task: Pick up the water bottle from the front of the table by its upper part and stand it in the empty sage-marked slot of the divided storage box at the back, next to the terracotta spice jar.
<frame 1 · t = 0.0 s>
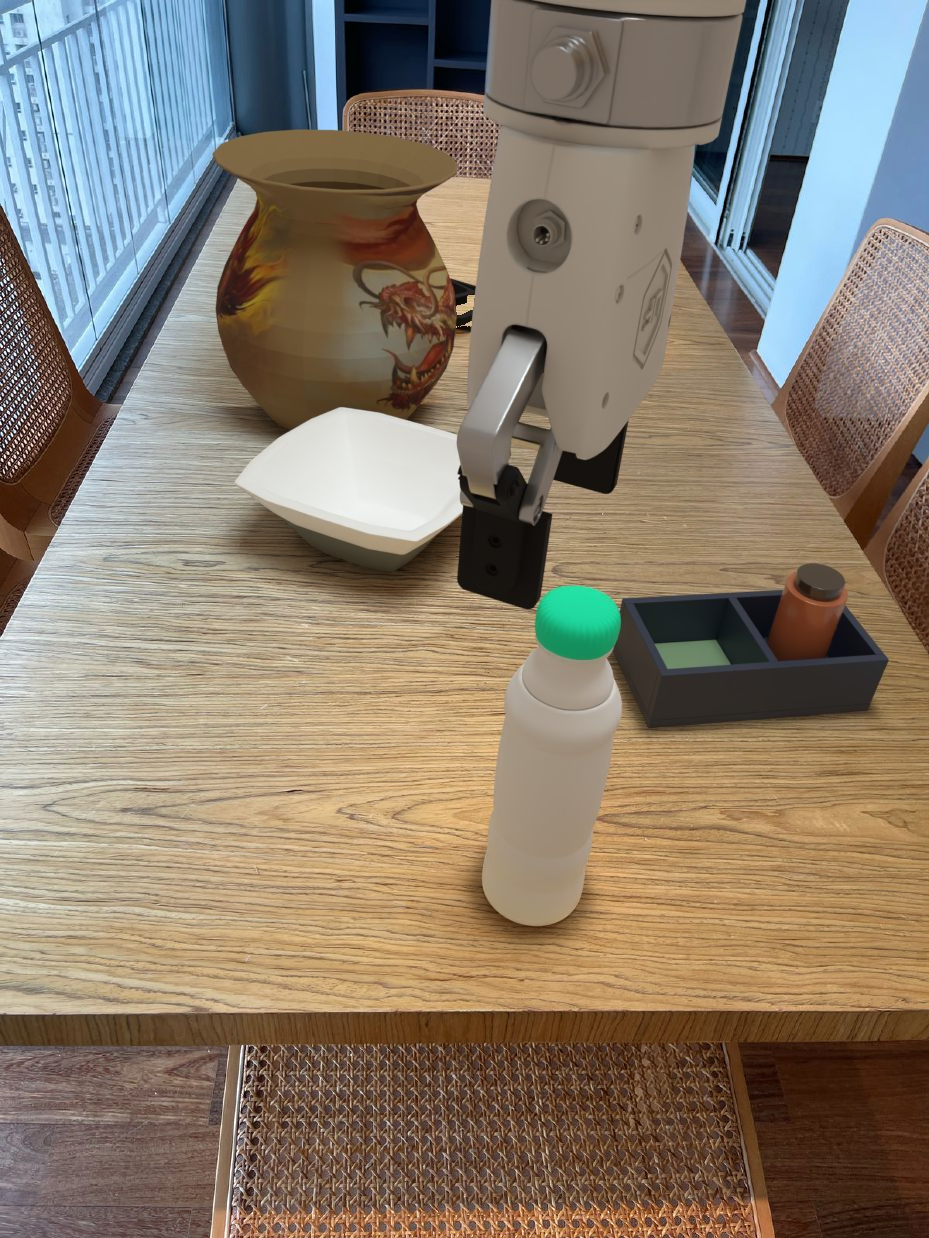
hand: (542, 535, 41), 35 cm above the table, tool pointing down, fingers open, 9 cm apart
water bottle: (530, 890, 71), on the table
divided storage box: (736, 680, 90), on the table
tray: (422, 316, 157), on the table
spice jar: (789, 668, 91), point 1 cm above the table, touching divided storage box
bowl: (373, 539, 105), on the table
vase: (338, 408, 129), on the table
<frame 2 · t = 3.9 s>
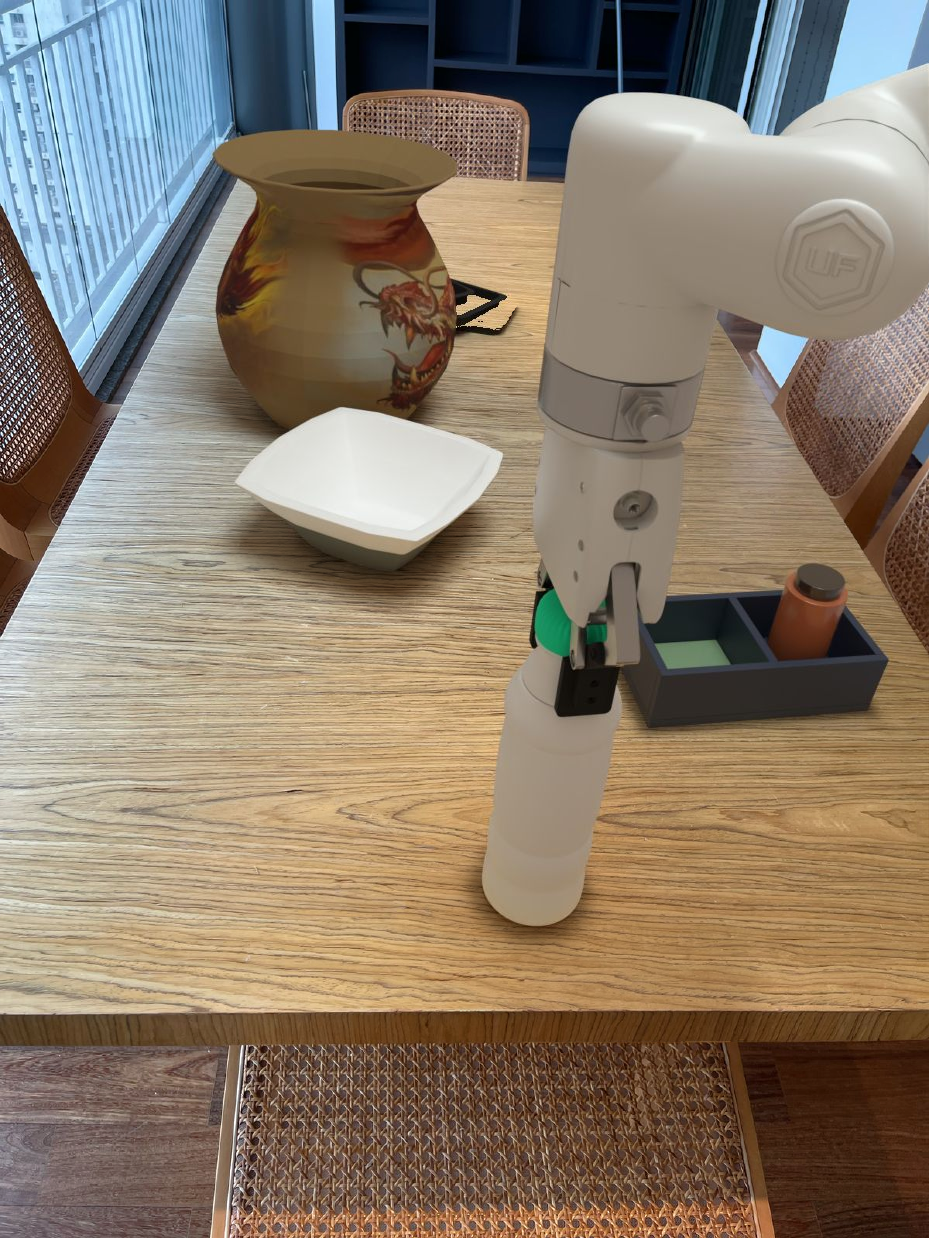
hand: (568, 675, 58), 20 cm above the table, tool pointing down, fingers closed on water bottle, 5 cm apart
water bottle: (530, 890, 71), on the table, touching gripper
everything else where it was.
when the fingers open (21 cm above the table, at t = 11.7 s): water bottle stays where it is, resting on divided storage box.
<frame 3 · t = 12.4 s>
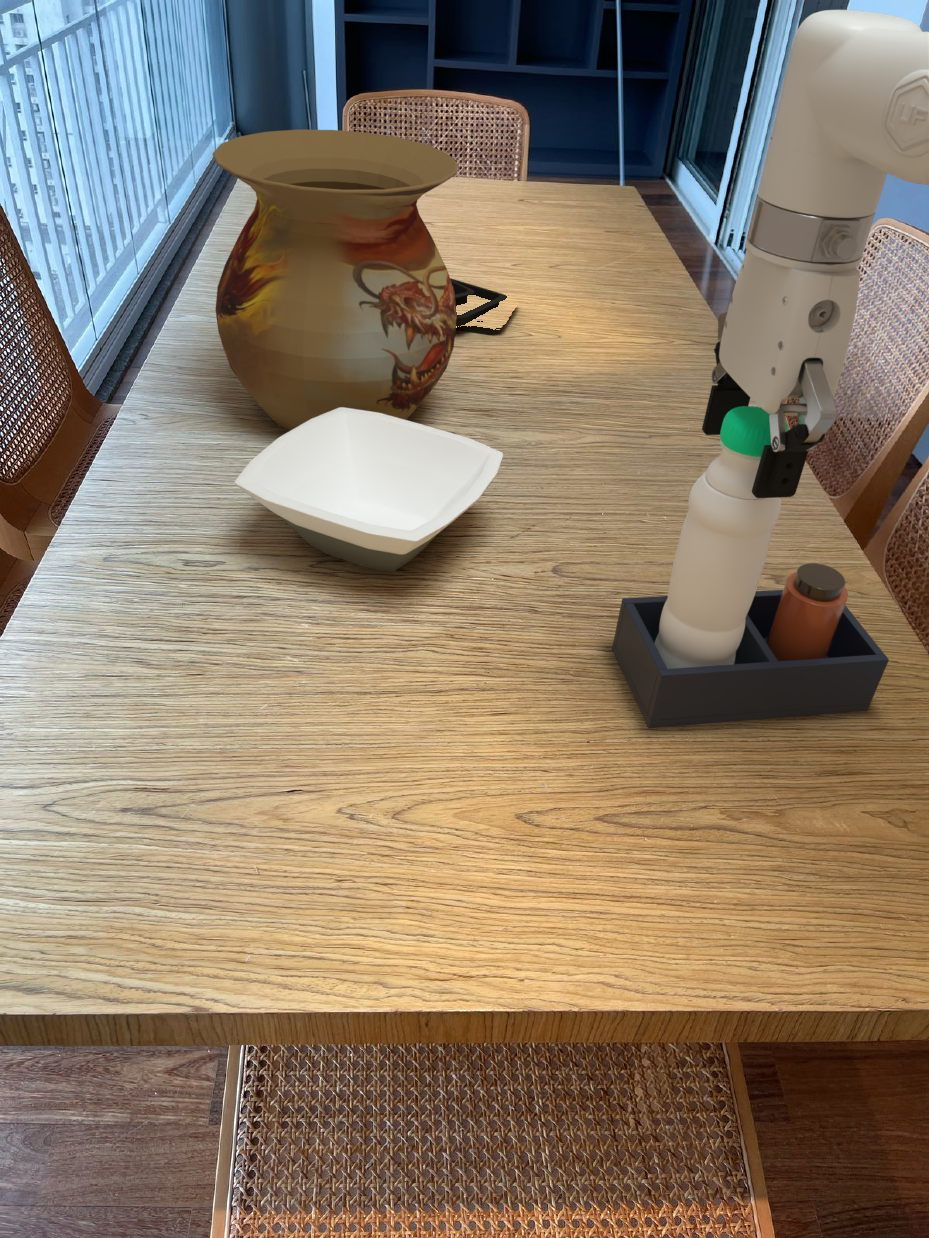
hand: (745, 462, 76), 22 cm above the table, tool pointing down, fingers open, 9 cm apart
water bottle: (688, 675, 89), point 1 cm above the table, touching divided storage box
everything else where it was.
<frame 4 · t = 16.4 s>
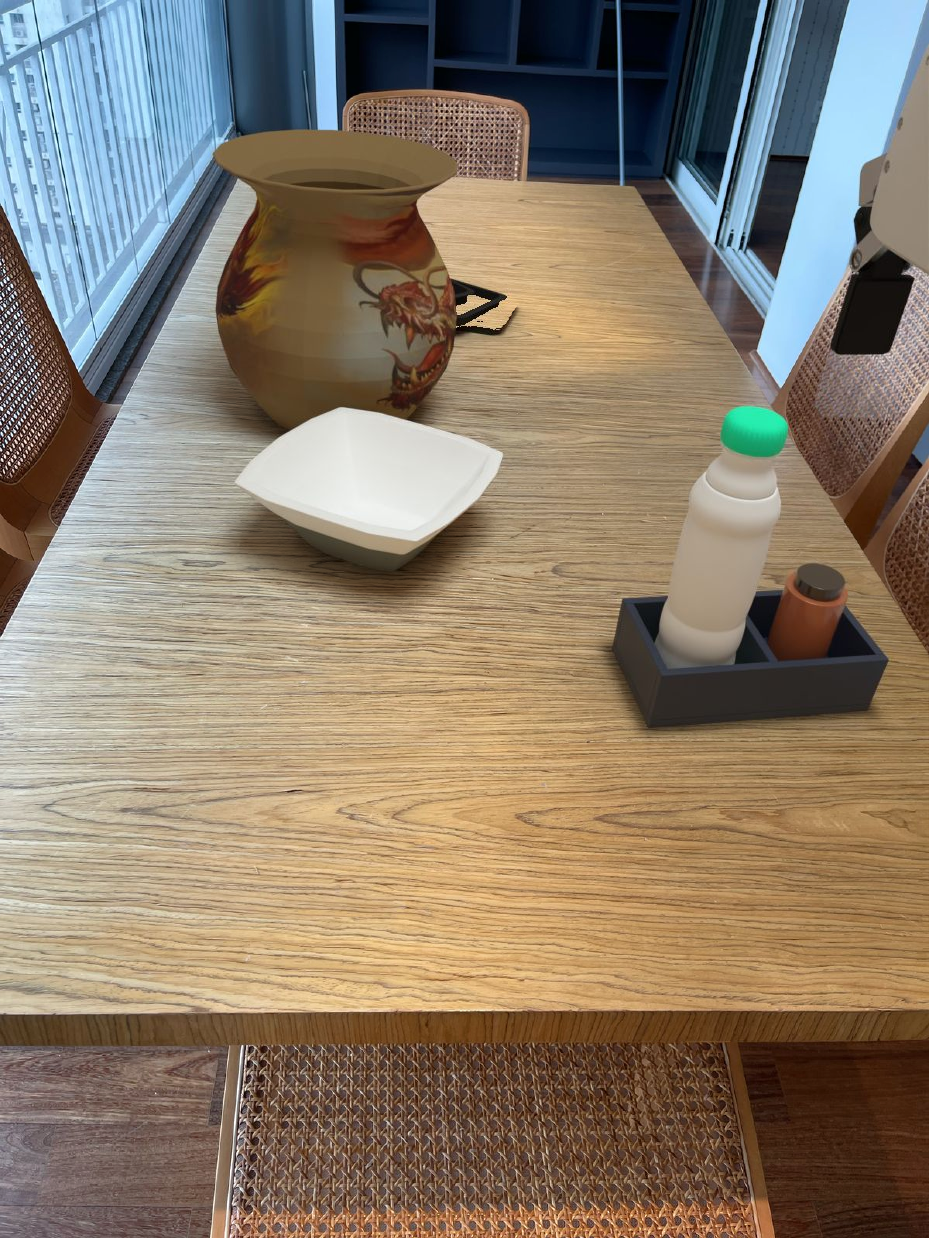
hand: (907, 393, 48), 38 cm above the table, tool pointing down, fingers open, 9 cm apart
nothing on the table moved.
at the end: water bottle 0.0 cm from the target spot in the divided storage box, point 1.0 cm above the divided storage box's base; water bottle tilted 0°; the gripper is holding nothing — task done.
